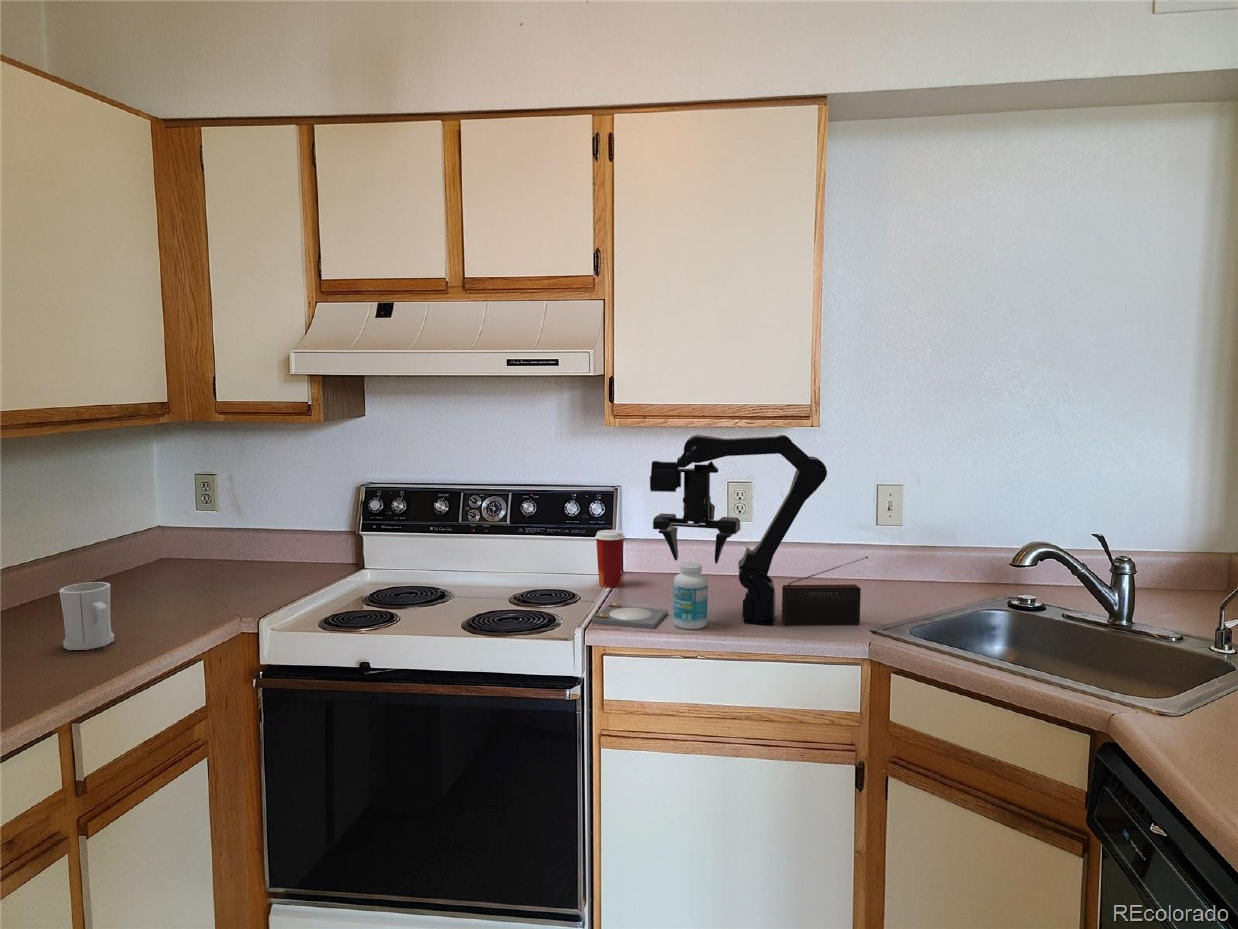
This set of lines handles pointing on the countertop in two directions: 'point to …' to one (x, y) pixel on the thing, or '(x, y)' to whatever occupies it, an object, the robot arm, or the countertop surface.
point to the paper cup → (609, 557)
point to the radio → (821, 604)
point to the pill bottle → (690, 597)
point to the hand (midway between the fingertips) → (696, 561)
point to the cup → (86, 615)
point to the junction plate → (630, 616)
